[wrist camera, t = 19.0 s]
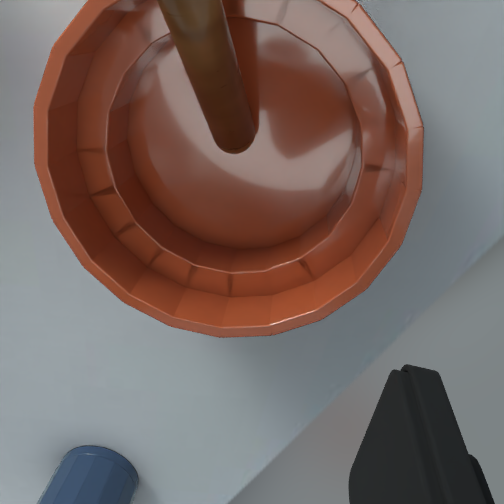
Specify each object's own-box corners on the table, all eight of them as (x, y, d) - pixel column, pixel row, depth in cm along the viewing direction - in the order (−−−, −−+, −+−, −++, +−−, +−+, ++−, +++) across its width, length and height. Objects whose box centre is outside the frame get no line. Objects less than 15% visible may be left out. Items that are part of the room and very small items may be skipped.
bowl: (444, 7, 21) (491, 4, 15) (346, 300, 28) (356, 368, 22) (101, -66, 21) (29, -96, 16) (88, 242, 28) (35, 297, 22)
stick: (262, 129, 23) (139, -393, 9) (251, 165, 23) (98, -333, 8) (224, 124, 24) (46, -380, 9) (212, 158, 23) (0, -324, 9)
